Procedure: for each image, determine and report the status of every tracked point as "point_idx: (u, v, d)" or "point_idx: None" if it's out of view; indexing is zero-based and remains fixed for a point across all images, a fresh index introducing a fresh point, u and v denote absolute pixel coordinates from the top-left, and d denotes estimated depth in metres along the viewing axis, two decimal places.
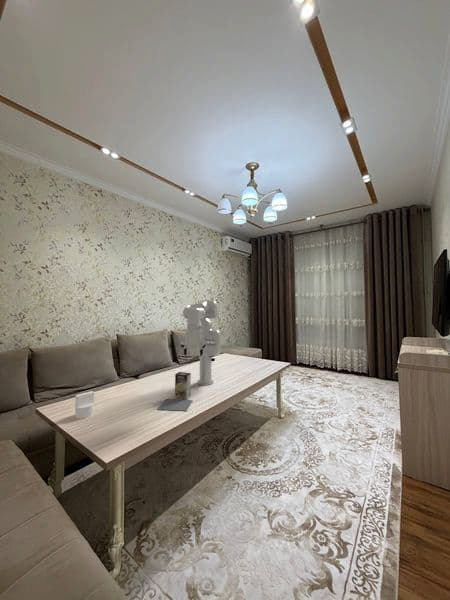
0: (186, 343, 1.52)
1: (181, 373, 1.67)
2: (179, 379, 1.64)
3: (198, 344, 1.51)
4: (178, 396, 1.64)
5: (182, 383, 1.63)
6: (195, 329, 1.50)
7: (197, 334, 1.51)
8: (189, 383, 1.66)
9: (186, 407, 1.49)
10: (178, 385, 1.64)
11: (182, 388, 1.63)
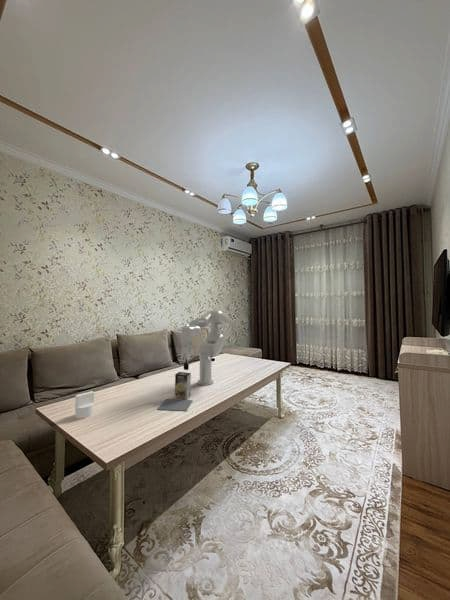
0: (187, 358, 1.72)
1: (181, 373, 1.67)
2: (179, 379, 1.64)
3: (190, 356, 1.80)
4: (178, 396, 1.64)
5: (182, 383, 1.63)
6: None
7: (190, 348, 1.79)
8: (189, 383, 1.66)
9: (186, 407, 1.49)
10: (178, 385, 1.64)
11: (182, 388, 1.63)
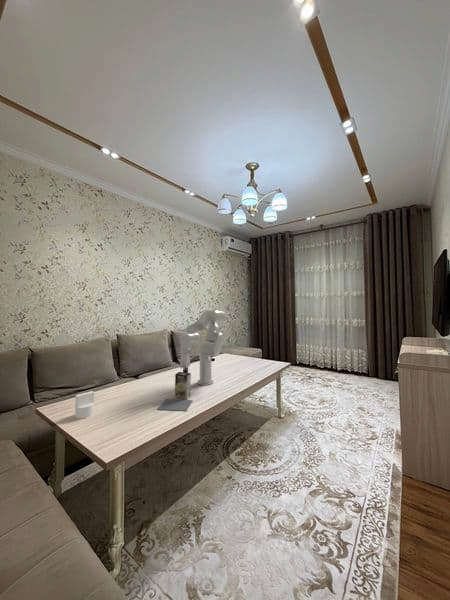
0: (187, 366, 1.70)
1: (181, 373, 1.67)
2: (179, 379, 1.64)
3: (189, 364, 1.78)
4: (178, 396, 1.64)
5: (182, 383, 1.63)
6: None
7: None
8: (189, 383, 1.66)
9: (186, 407, 1.49)
10: (178, 385, 1.64)
11: (182, 388, 1.63)
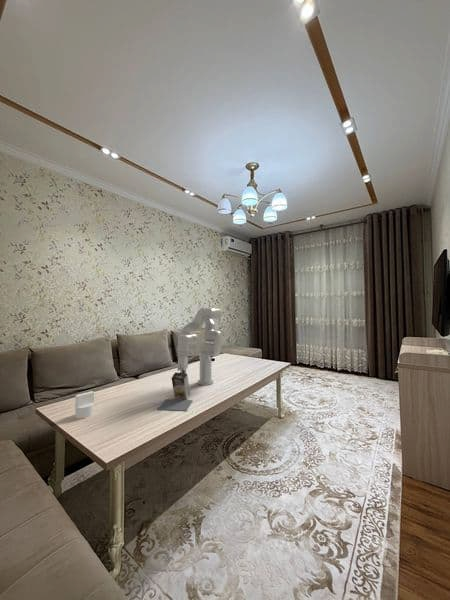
0: (184, 368, 1.64)
1: (177, 375, 1.61)
2: (176, 382, 1.60)
3: (187, 366, 1.71)
4: (178, 396, 1.63)
5: (180, 386, 1.60)
6: None
7: (187, 357, 1.70)
8: (187, 383, 1.63)
9: (186, 407, 1.49)
10: (176, 387, 1.61)
11: (180, 390, 1.61)
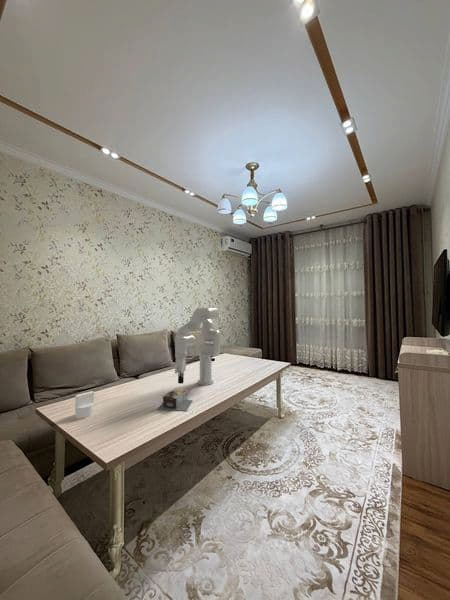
0: (182, 371, 1.58)
1: (167, 402, 1.48)
2: None
3: (185, 368, 1.65)
4: None
5: None
6: None
7: (185, 359, 1.65)
8: (181, 398, 1.53)
9: (186, 407, 1.49)
10: None
11: None
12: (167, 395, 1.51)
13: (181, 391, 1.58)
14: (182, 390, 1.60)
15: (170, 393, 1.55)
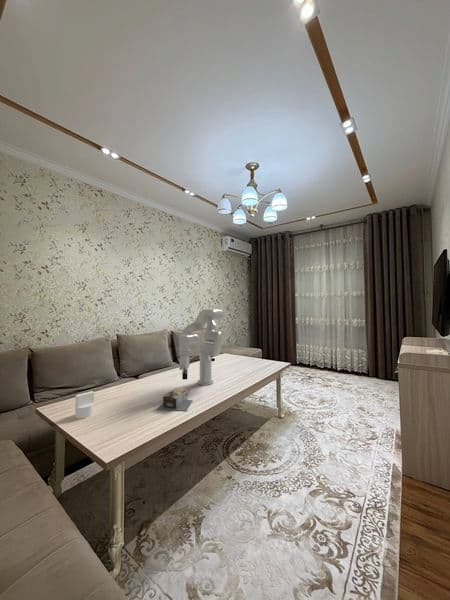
0: (186, 367, 1.67)
1: (167, 402, 1.48)
2: None
3: None
4: None
5: None
6: None
7: None
8: (181, 398, 1.53)
9: (186, 407, 1.49)
10: None
11: None
12: (167, 395, 1.51)
13: (181, 391, 1.58)
14: (182, 390, 1.60)
15: (170, 393, 1.55)
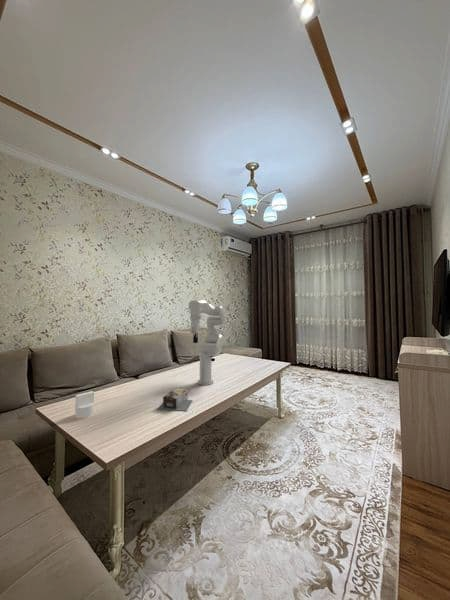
0: (197, 331, 1.74)
1: (167, 402, 1.48)
2: None
3: (199, 330, 1.82)
4: None
5: None
6: None
7: (199, 322, 1.81)
8: (181, 398, 1.53)
9: (186, 407, 1.49)
10: None
11: None
12: (167, 395, 1.51)
13: (181, 391, 1.58)
14: (182, 390, 1.60)
15: (170, 393, 1.55)
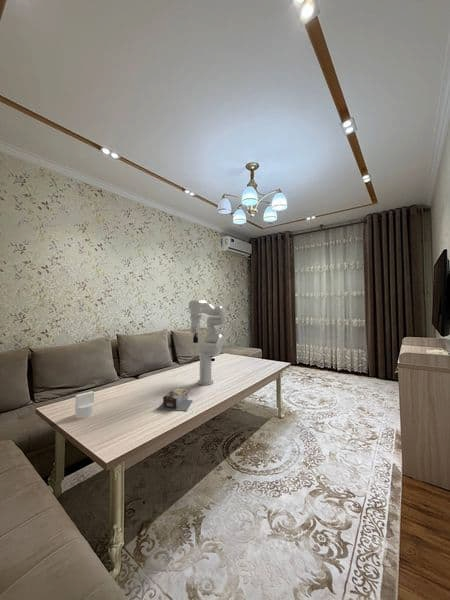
0: (197, 331, 1.74)
1: (167, 402, 1.48)
2: None
3: (199, 330, 1.82)
4: None
5: None
6: None
7: (199, 322, 1.81)
8: (181, 398, 1.53)
9: (186, 407, 1.49)
10: None
11: None
12: (167, 395, 1.51)
13: (181, 391, 1.58)
14: (182, 390, 1.60)
15: (170, 393, 1.55)
